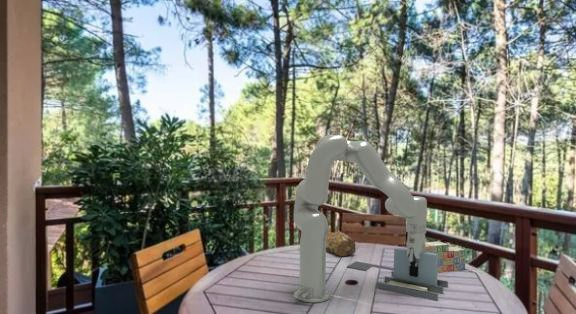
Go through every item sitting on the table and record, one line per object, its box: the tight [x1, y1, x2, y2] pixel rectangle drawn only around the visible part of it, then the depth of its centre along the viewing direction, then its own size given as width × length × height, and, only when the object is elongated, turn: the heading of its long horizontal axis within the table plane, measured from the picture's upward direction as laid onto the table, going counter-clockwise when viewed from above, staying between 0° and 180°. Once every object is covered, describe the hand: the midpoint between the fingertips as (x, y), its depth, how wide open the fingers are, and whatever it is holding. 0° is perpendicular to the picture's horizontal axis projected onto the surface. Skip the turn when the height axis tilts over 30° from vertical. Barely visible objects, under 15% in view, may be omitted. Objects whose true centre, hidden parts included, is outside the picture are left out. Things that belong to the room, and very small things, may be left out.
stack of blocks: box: [425, 241, 466, 274], centre depth 172 cm, size 21×6×12 cm, turn 107°
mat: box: [346, 261, 394, 272], centre depth 172 cm, size 10×22×1 cm, turn 56°
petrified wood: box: [326, 231, 357, 257], centre depth 200 cm, size 19×13×10 cm
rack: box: [376, 270, 449, 302], centre depth 147 cm, size 17×22×3 cm
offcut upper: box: [387, 281, 428, 292], centre depth 144 cm, size 4×14×2 cm, turn 56°
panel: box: [393, 246, 438, 286], centre depth 150 cm, size 3×16×13 cm, turn 56°
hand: (415, 274), depth 150 cm, fingers closed on panel, 3 cm apart
